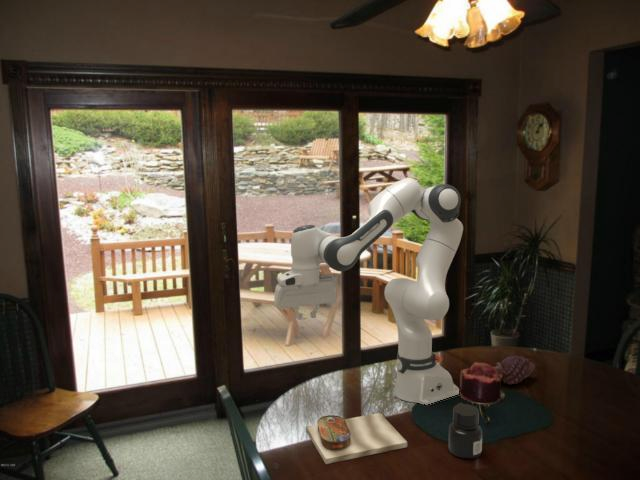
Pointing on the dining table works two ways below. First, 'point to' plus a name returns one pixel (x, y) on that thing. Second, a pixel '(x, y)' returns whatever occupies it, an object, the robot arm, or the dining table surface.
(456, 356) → the dining table surface
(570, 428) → the dining table surface
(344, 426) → the tin
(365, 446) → the birch board
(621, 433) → the dining table surface
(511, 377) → the pine cone
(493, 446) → the dining table surface
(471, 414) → the ink bottle
